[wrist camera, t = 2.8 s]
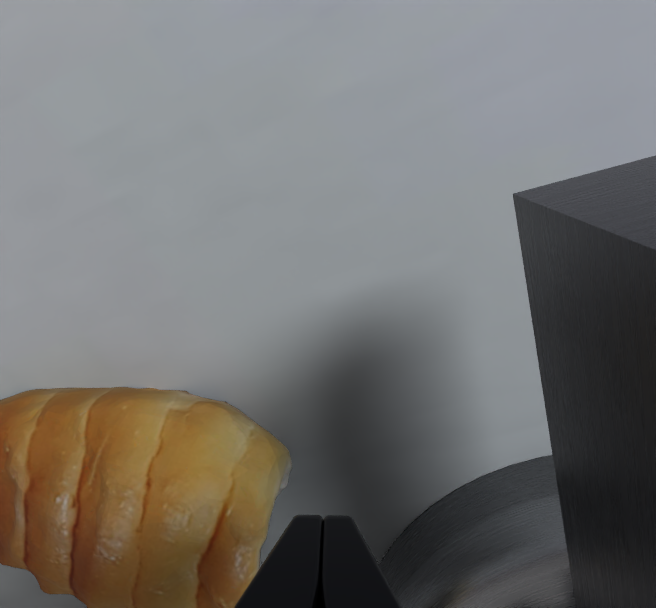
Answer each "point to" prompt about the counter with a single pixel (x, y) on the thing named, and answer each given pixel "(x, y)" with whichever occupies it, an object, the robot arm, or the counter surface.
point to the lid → (599, 370)
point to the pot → (487, 546)
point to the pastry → (136, 495)
